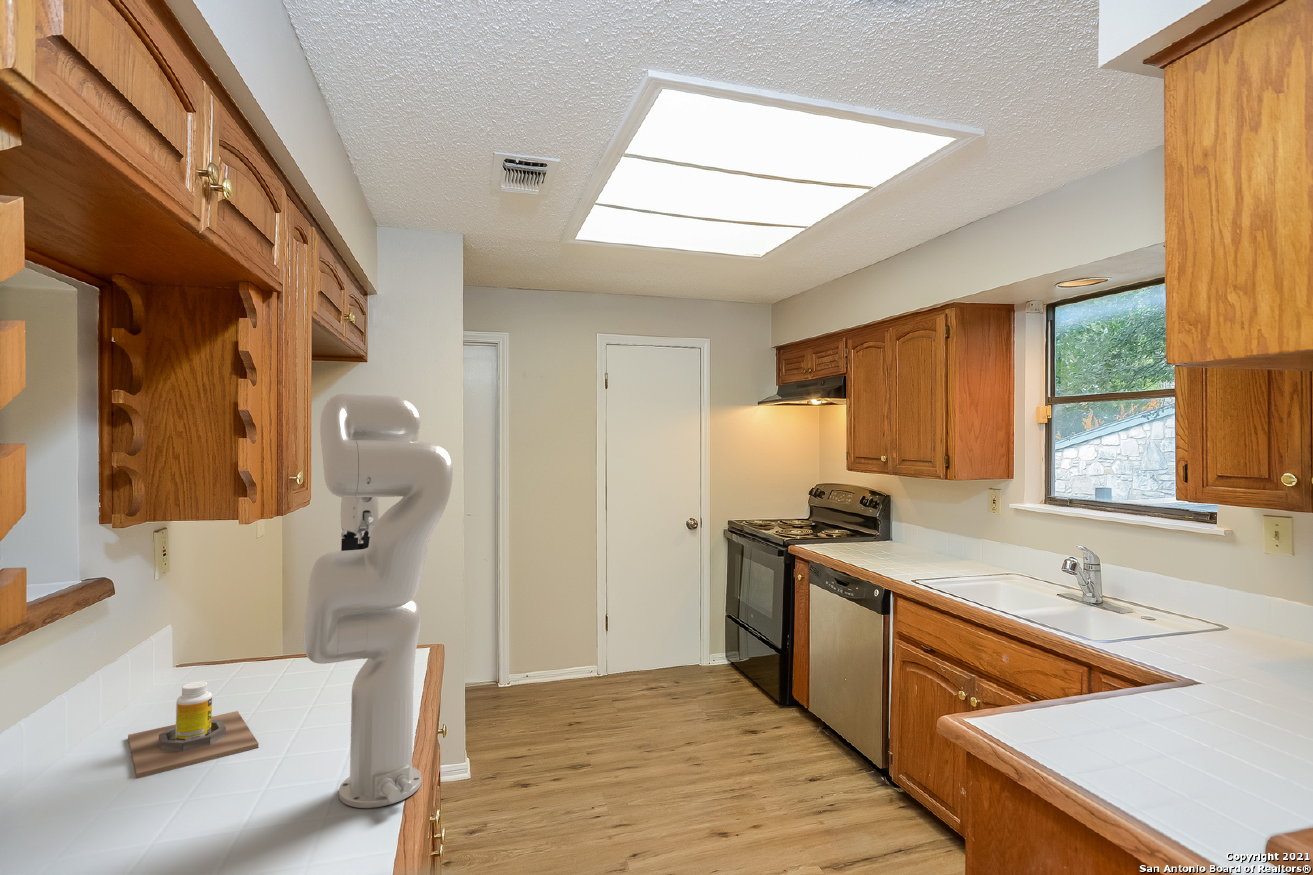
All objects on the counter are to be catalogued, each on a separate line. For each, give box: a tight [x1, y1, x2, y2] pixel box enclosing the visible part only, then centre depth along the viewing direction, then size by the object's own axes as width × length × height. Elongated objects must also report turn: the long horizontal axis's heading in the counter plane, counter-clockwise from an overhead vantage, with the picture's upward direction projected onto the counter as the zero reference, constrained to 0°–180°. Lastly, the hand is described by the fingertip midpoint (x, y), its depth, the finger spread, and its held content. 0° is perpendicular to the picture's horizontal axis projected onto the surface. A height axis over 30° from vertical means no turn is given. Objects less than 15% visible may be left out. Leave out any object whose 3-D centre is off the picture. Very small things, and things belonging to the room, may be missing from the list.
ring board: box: [127, 710, 259, 779], centre depth 126 cm, size 20×18×2 cm
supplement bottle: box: [175, 681, 213, 741], centre depth 126 cm, size 6×6×10 cm
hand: (357, 559), depth 136 cm, fingers open, 9 cm apart
